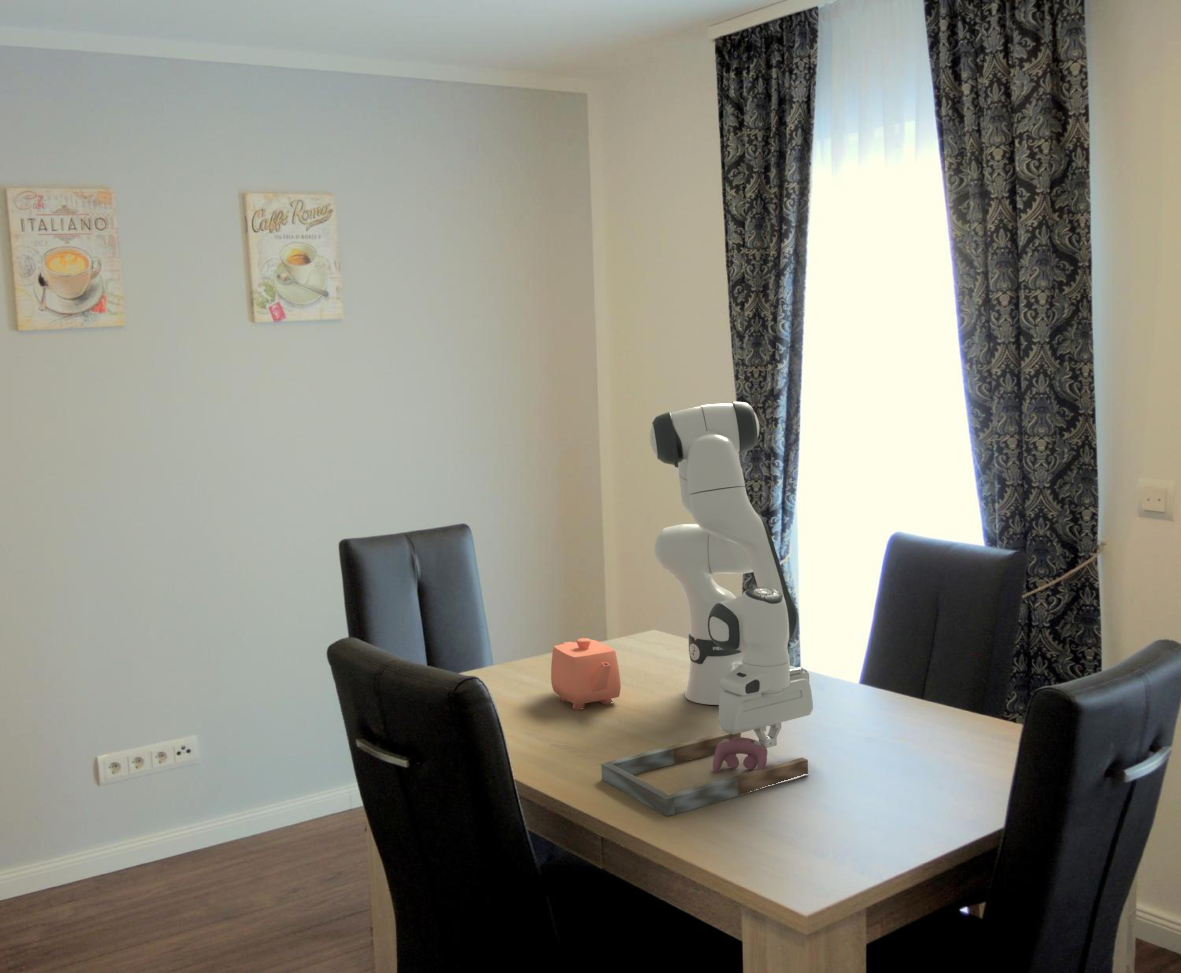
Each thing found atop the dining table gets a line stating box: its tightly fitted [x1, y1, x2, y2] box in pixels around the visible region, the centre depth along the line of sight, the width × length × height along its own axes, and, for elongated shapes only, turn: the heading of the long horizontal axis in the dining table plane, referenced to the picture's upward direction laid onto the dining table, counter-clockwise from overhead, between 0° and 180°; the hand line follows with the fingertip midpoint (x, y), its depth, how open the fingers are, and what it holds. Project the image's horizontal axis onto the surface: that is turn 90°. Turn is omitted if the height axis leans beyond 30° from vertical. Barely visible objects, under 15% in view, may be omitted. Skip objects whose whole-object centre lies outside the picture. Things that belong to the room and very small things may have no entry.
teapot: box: [550, 637, 621, 710], centre depth 258 cm, size 22×13×14 cm, turn 25°
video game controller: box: [712, 736, 768, 774], centre depth 213 cm, size 10×5×7 cm, turn 72°
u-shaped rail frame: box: [600, 731, 809, 817], centre depth 210 cm, size 31×21×3 cm
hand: (767, 746), depth 217 cm, fingers closed
